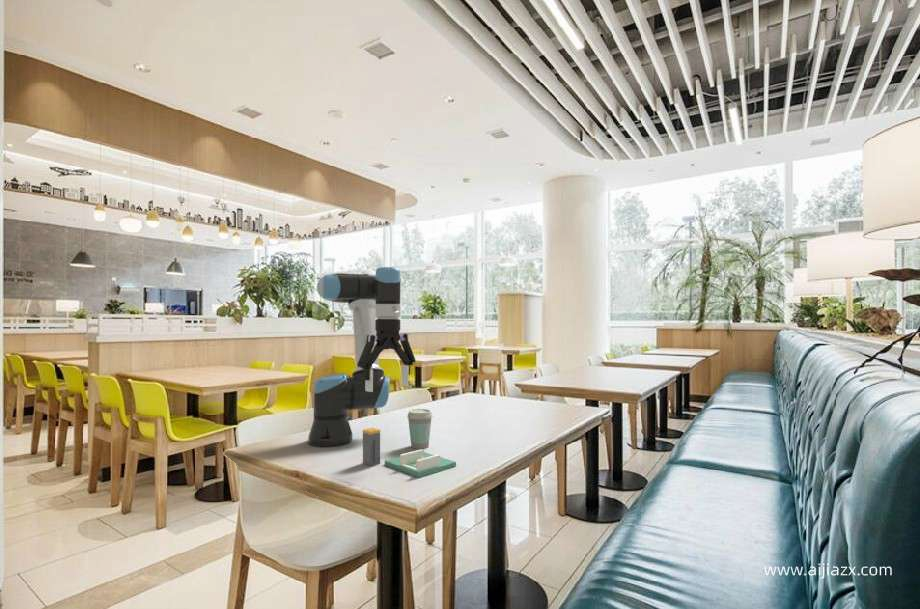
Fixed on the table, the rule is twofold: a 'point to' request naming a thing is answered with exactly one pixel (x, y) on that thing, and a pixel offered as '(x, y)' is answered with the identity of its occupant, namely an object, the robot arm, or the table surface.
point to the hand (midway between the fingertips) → (387, 388)
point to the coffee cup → (419, 427)
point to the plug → (371, 446)
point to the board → (420, 463)
